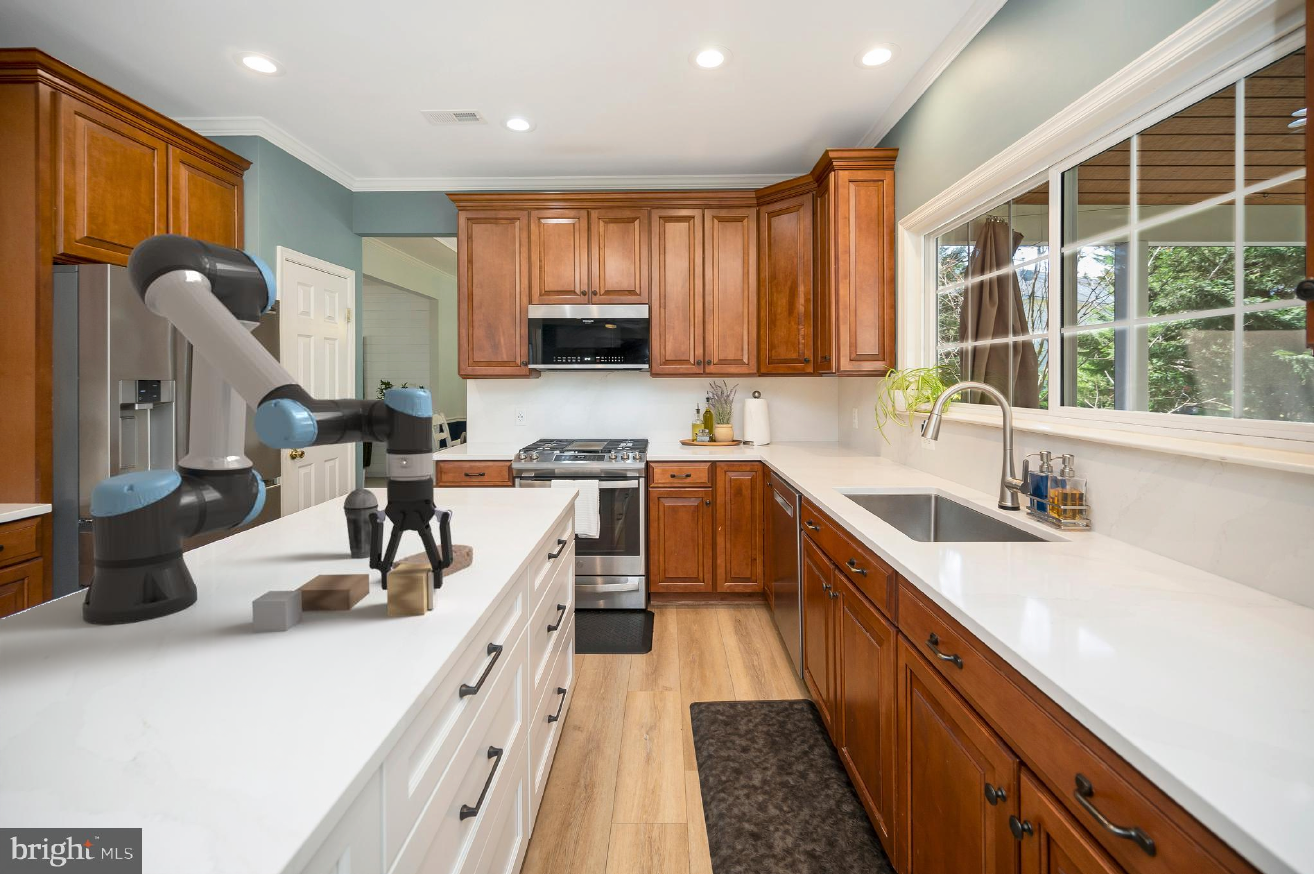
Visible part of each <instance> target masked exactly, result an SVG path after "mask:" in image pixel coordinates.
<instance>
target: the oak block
mask: <svg viewBox="0 0 1314 874" xmlns="http://www.w3.org/2000/svg"><path fill="white" fill-rule="evenodd" d="M431 569H432V567H431V564H401V565H399V566H398V567H397V568H396V569H395V570H393V571H392V572H391V573H390V574H389V575H387V590H386V595H387V596H386V599H387V601H388V605H387V616H388V617H391V616H392V617H396V616H425V614H427V612H428V611H429V610H430V609H429V597H428V572H429V571H430V570H431Z"/></svg>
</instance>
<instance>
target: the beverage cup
mask: <svg viewBox="0 0 1314 874" xmlns="http://www.w3.org/2000/svg"><path fill="white" fill-rule="evenodd" d="M365 472H366V469H362V472H361V474H362V475H361V486H360V487H361V488H359V489H358V488H357V489H354V490H352V491H351V492H350V493H348V495H346V497H345V500H344V503H343V510H344V511H343V512H344V515H345V519H346V526H347V527H346V528H347V534H348V544H349V551H350V555H351V556H350V558H352V559H367V558H370V545H371V528H372V526H371V523H370V520H369V514H370V513H372V512H374V511H376V510H378V509H379V508H378V507H379V503H378V499H377V497H376V495H375V494H374V493H373V492H372V491H370V490H369V489H367V488H365V474H366V473H365ZM378 511H379V510H378Z"/></svg>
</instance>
